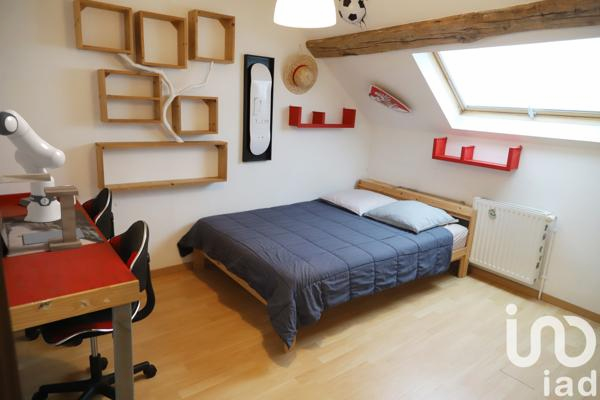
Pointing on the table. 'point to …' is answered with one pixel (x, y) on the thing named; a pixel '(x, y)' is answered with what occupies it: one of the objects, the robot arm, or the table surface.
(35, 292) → the table surface
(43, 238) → the rubber mat
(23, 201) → the marble piece
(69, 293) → the table surface
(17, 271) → the table surface
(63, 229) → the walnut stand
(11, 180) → the ash bar
